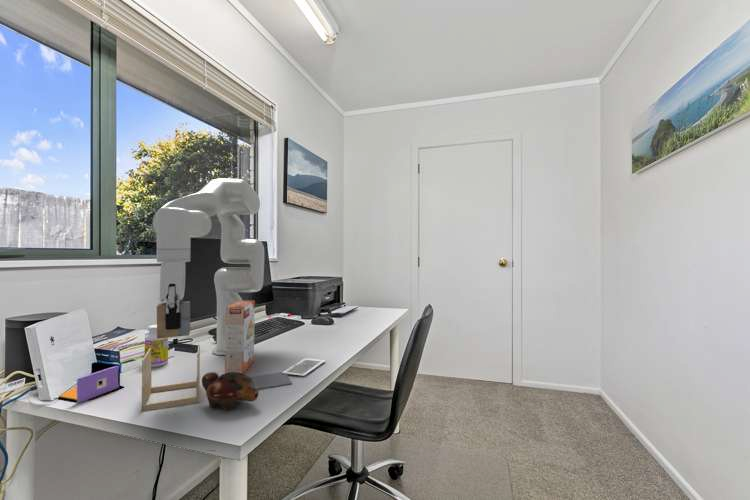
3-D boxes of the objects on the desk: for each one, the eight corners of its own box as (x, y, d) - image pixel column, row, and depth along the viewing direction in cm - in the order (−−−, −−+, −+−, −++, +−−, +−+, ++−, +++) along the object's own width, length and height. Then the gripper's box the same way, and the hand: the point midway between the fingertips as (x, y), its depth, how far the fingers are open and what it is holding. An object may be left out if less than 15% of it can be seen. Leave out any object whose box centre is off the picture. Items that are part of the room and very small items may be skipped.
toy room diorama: (127, 388, 94) (127, 364, 94) (78, 408, 83) (78, 379, 83) (95, 384, 98) (95, 360, 98) (44, 401, 86) (44, 374, 86)
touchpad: (325, 363, 117) (325, 357, 117) (304, 379, 102) (304, 372, 102) (305, 361, 119) (305, 355, 119) (281, 376, 105) (281, 369, 105)
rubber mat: (250, 377, 102) (250, 376, 102) (285, 372, 106) (285, 371, 106) (254, 390, 93) (254, 388, 93) (291, 384, 97) (291, 382, 97)
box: (159, 333, 89) (159, 303, 89) (190, 330, 92) (190, 301, 92) (156, 338, 85) (156, 306, 85) (189, 335, 88) (189, 304, 88)
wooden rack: (149, 393, 91) (149, 347, 91) (199, 385, 96) (199, 342, 96) (141, 412, 80) (141, 360, 80) (198, 402, 85) (198, 354, 85)
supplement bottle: (139, 368, 110) (139, 328, 110) (152, 361, 117) (152, 323, 117) (160, 367, 110) (161, 328, 111) (172, 361, 117) (172, 323, 117)
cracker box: (244, 375, 104) (245, 306, 104) (224, 375, 104) (224, 306, 104) (255, 360, 118) (255, 299, 118) (237, 361, 118) (237, 300, 118)
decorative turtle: (214, 395, 90) (214, 365, 90) (268, 400, 87) (268, 368, 87) (187, 412, 80) (187, 378, 80) (246, 418, 77) (247, 383, 77)
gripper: (161, 255, 94) (161, 321, 95) (151, 257, 79) (152, 336, 79) (192, 255, 98) (192, 318, 98) (188, 257, 82) (188, 332, 82)
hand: (174, 325), depth 89 cm, fingers closed on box, 5 cm apart
